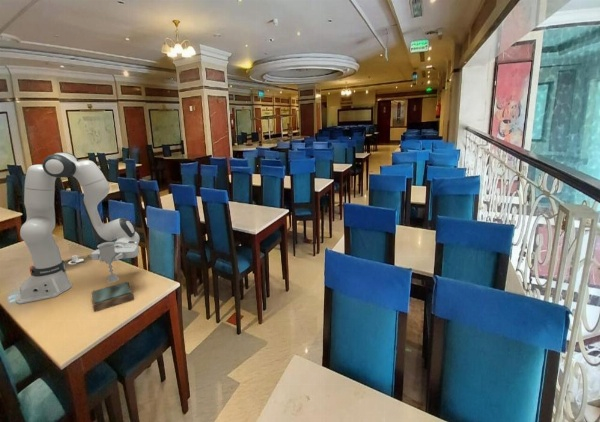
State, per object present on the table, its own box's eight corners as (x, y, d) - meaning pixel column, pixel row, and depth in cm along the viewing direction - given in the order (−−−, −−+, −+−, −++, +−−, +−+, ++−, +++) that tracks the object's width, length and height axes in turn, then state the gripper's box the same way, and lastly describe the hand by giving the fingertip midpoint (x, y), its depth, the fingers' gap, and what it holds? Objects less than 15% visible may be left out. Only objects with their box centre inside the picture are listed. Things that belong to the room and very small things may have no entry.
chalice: (113, 284, 148) (106, 248, 143) (101, 283, 149) (93, 247, 144) (124, 276, 154) (118, 242, 150) (112, 275, 156) (105, 241, 151)
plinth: (94, 311, 142) (93, 303, 141) (92, 298, 153) (91, 291, 152) (134, 299, 151) (132, 292, 150) (129, 287, 162) (128, 280, 161)
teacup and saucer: (83, 263, 195) (82, 256, 194) (68, 266, 191) (66, 260, 189) (83, 258, 202) (82, 252, 201) (68, 261, 198) (67, 255, 197)
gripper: (98, 244, 159) (82, 255, 146) (140, 241, 161) (129, 252, 148) (100, 255, 161) (85, 267, 148) (142, 253, 163) (131, 264, 150)
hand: (107, 259), depth 148 cm, fingers closed on chalice, 5 cm apart
